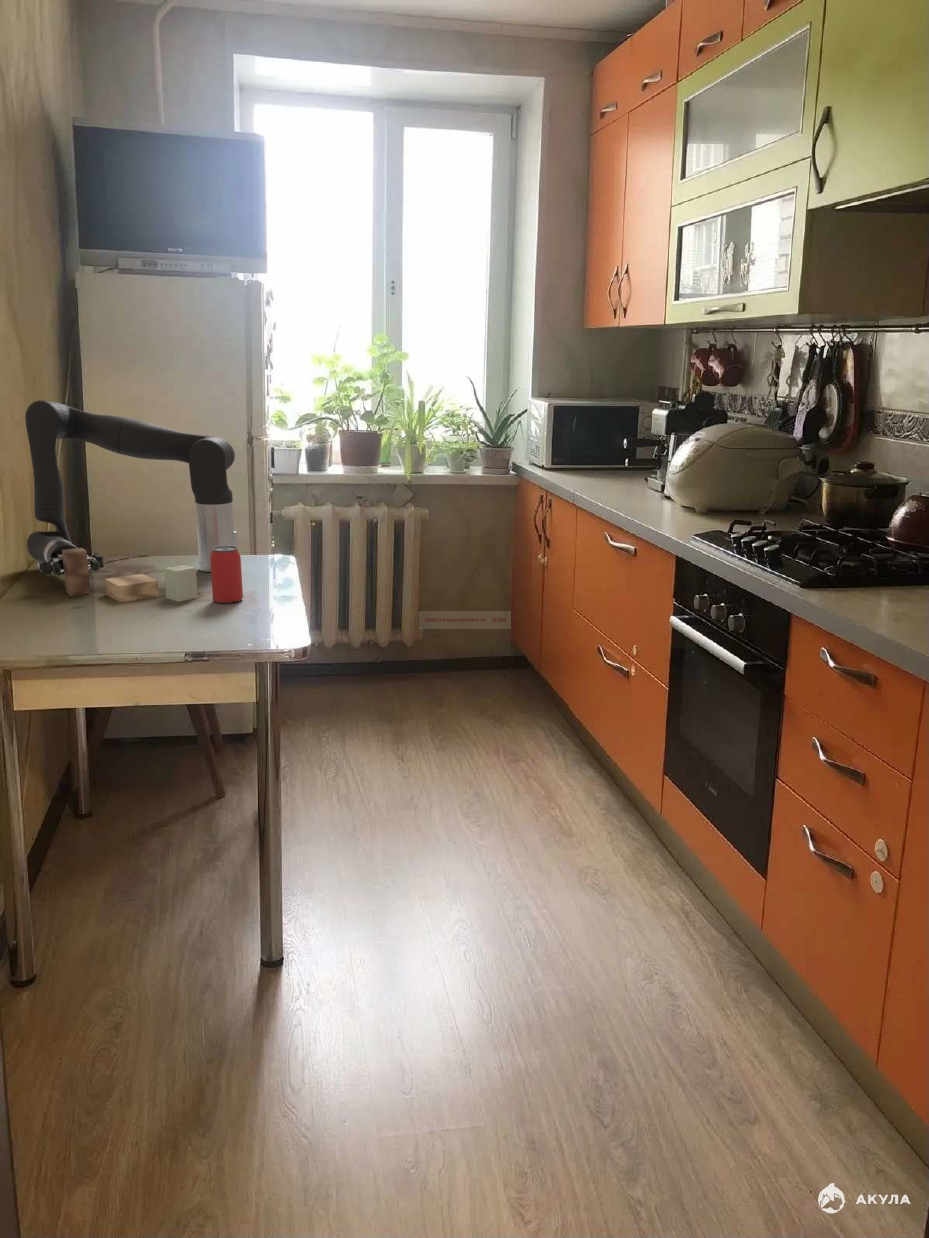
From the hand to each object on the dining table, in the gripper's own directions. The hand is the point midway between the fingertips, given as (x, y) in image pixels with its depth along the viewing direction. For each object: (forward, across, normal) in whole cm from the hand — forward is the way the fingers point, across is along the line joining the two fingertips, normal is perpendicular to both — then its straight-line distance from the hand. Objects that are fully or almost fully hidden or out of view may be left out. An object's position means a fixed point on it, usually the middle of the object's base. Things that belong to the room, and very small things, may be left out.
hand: (77, 569), depth 229 cm
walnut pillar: (-2, 0, +6) cm, 6 cm away
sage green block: (+15, +19, +6) cm, 25 cm away
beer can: (+23, +27, +6) cm, 36 cm away
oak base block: (+7, +10, +6) cm, 14 cm away
